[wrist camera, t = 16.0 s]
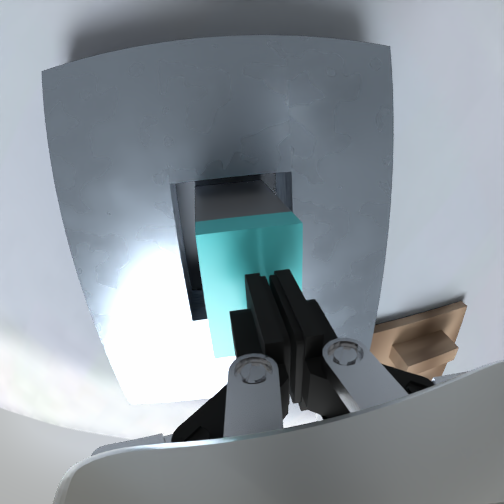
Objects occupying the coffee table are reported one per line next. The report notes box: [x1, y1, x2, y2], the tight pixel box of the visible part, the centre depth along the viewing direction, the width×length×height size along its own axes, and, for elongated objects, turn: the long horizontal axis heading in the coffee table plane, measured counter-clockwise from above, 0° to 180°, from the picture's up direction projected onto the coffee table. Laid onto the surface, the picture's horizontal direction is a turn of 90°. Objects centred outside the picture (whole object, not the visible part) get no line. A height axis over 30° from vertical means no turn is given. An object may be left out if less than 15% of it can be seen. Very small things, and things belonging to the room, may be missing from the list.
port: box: [42, 35, 393, 404], centre depth 19 cm, size 18×22×4 cm
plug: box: [195, 180, 303, 359], centre depth 17 cm, size 4×6×8 cm, turn 3°
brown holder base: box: [370, 301, 467, 381], centre depth 28 cm, size 12×14×4 cm
